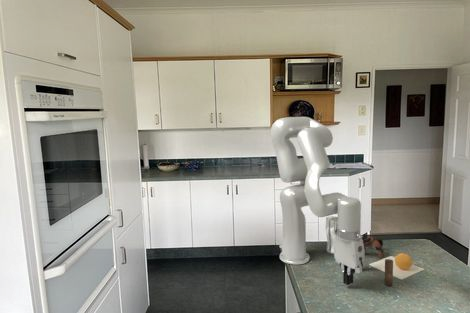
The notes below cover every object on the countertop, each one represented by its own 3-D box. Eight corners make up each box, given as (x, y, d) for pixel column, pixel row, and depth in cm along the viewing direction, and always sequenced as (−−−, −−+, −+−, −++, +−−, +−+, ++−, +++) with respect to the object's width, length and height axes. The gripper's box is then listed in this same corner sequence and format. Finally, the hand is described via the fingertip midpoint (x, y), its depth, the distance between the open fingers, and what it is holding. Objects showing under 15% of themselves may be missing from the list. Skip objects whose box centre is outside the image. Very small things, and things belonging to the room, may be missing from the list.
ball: (404, 256, 129) (398, 269, 127) (395, 248, 127) (389, 261, 125) (418, 260, 123) (411, 274, 122) (409, 253, 121) (402, 266, 120)
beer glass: (342, 254, 138) (343, 221, 136) (326, 254, 140) (326, 221, 138) (340, 248, 145) (341, 216, 143) (324, 247, 147) (325, 215, 145)
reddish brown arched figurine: (378, 262, 131) (368, 244, 132) (361, 264, 139) (351, 247, 140) (393, 248, 138) (383, 230, 139) (376, 250, 146) (366, 234, 147)
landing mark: (369, 264, 129) (369, 264, 129) (391, 256, 135) (391, 255, 135) (401, 279, 117) (401, 279, 117) (424, 269, 123) (424, 269, 123)
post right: (382, 284, 114) (383, 260, 113) (387, 282, 115) (388, 258, 114) (389, 287, 112) (390, 263, 111) (394, 285, 113) (394, 261, 112)
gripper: (374, 237, 106) (373, 289, 108) (339, 225, 119) (339, 271, 121) (359, 243, 102) (358, 296, 105) (324, 229, 115) (324, 277, 118)
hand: (348, 283), depth 113 cm, fingers closed
